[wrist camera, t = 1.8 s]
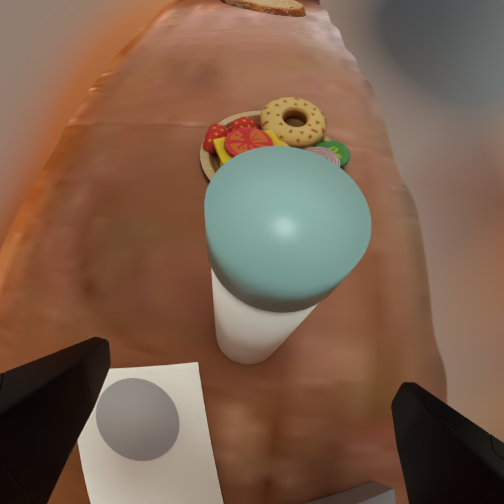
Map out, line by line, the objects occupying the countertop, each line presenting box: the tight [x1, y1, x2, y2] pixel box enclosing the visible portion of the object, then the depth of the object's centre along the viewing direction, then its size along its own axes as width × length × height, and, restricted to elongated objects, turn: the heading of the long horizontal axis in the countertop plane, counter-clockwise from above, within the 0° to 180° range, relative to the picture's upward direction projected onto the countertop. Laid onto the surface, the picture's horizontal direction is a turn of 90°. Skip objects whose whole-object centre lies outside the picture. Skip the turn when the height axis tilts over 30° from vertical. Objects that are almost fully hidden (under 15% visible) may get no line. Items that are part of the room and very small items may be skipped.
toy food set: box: [200, 97, 350, 181], centre depth 27 cm, size 13×13×3 cm
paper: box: [78, 362, 224, 504], centre depth 16 cm, size 11×9×1 cm
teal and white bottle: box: [204, 146, 372, 365], centre depth 14 cm, size 4×4×14 cm
